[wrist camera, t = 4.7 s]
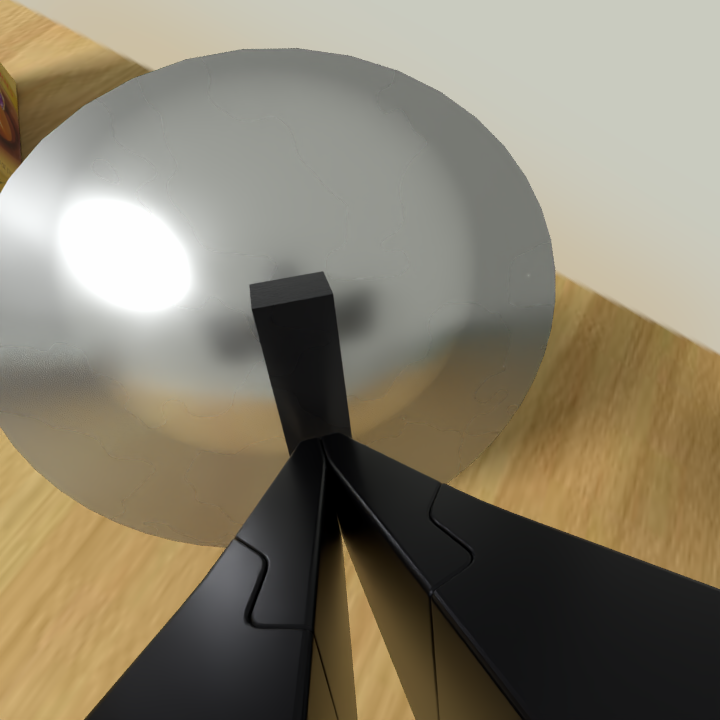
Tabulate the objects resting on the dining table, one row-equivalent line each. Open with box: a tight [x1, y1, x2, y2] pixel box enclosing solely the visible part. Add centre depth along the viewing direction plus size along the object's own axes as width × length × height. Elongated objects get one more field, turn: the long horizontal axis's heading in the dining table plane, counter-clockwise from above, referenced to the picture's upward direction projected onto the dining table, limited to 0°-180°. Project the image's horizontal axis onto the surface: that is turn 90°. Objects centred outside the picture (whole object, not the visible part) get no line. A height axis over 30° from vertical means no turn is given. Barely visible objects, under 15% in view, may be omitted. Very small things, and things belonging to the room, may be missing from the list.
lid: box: [0, 48, 555, 548], centre depth 10 cm, size 12×12×2 cm
